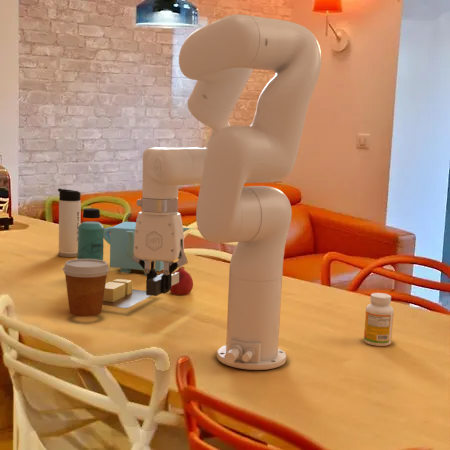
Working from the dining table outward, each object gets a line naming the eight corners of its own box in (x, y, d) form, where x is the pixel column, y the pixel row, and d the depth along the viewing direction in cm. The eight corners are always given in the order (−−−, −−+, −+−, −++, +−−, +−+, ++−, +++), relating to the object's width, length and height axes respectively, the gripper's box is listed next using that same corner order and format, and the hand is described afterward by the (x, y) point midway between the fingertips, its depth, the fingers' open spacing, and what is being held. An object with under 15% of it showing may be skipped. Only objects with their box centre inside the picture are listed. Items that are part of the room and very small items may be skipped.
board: (127, 314, 161) (127, 308, 161) (78, 308, 165) (78, 301, 164) (157, 298, 176) (157, 292, 176) (111, 292, 180) (112, 286, 179)
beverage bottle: (70, 290, 180) (71, 208, 177) (87, 285, 186) (89, 205, 183) (92, 294, 177) (93, 211, 174) (108, 289, 183) (110, 208, 180)
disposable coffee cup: (63, 325, 151) (64, 268, 149) (61, 313, 160) (61, 258, 158) (110, 324, 153) (112, 267, 152) (105, 311, 162) (106, 258, 161)
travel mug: (55, 253, 223) (55, 187, 220) (77, 253, 226) (77, 187, 223) (60, 258, 217) (60, 189, 214) (82, 256, 220) (83, 189, 217)
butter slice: (127, 295, 172) (127, 282, 171) (111, 293, 173) (112, 280, 173) (132, 292, 174) (132, 280, 174) (116, 290, 175) (117, 278, 175)
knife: (156, 296, 155) (156, 281, 155) (145, 295, 156) (146, 280, 156) (183, 282, 169) (183, 269, 169) (173, 281, 170) (173, 268, 170)
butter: (113, 302, 165) (113, 289, 165) (96, 300, 166) (97, 287, 166) (125, 296, 171) (125, 283, 170) (109, 294, 172) (109, 281, 171)
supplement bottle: (371, 336, 153) (375, 290, 151) (395, 342, 149) (399, 295, 148) (358, 342, 148) (362, 294, 147) (383, 348, 145) (386, 300, 144)
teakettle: (96, 268, 206) (96, 215, 204) (154, 262, 217) (156, 212, 215) (128, 282, 191) (129, 225, 189) (189, 275, 202) (191, 221, 200)
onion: (188, 303, 173) (190, 269, 172) (165, 301, 174) (166, 267, 173) (194, 297, 178) (196, 264, 177) (171, 295, 180) (172, 262, 178)
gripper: (117, 205, 156) (117, 291, 158) (188, 210, 151) (187, 298, 153) (133, 202, 163) (132, 285, 165) (201, 206, 158) (200, 291, 160)
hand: (158, 290), depth 159 cm, fingers closed on knife, 2 cm apart
